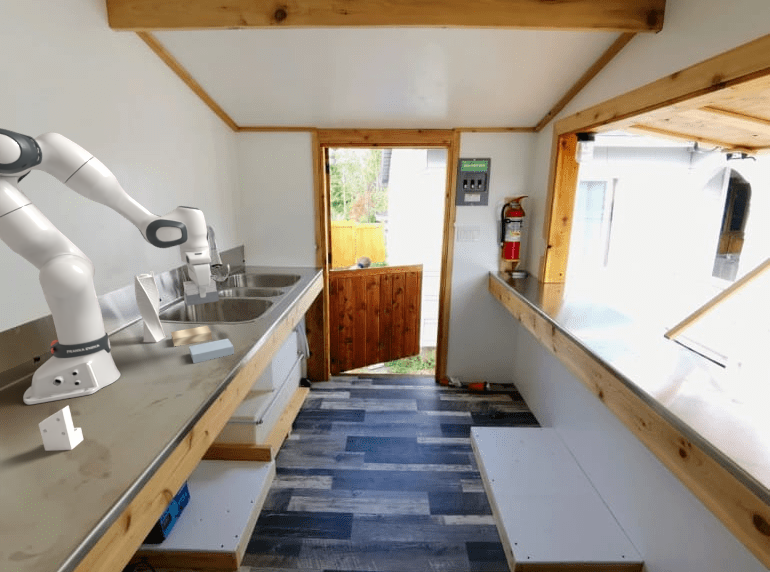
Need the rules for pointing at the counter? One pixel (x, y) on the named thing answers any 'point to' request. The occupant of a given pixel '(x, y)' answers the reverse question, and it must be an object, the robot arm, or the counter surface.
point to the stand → (211, 350)
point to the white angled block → (60, 431)
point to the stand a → (191, 335)
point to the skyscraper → (149, 307)
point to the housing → (193, 293)
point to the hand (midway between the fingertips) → (200, 294)
